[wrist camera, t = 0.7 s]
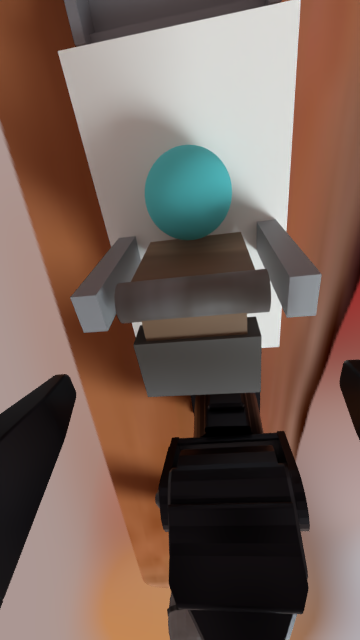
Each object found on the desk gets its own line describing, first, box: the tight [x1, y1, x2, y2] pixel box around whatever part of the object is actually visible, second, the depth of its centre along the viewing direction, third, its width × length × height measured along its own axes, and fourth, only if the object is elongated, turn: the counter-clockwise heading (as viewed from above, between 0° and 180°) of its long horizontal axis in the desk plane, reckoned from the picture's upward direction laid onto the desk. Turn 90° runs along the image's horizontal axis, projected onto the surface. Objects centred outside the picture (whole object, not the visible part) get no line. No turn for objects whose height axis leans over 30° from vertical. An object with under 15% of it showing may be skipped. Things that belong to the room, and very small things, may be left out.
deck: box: [58, 0, 321, 348], centre depth 15 cm, size 17×10×11 cm, turn 8°
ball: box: [145, 145, 232, 240], centre depth 13 cm, size 4×4×4 cm
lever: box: [114, 232, 271, 397], centre depth 14 cm, size 5×6×7 cm
